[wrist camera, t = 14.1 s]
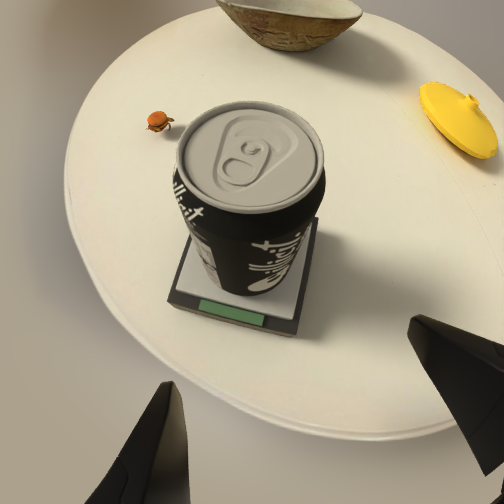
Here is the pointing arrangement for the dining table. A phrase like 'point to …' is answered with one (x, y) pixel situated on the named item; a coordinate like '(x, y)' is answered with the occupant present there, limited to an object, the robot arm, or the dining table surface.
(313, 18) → the bowl
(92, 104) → the dining table surface
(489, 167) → the dining table surface
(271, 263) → the beverage can
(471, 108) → the vase
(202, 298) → the scale
